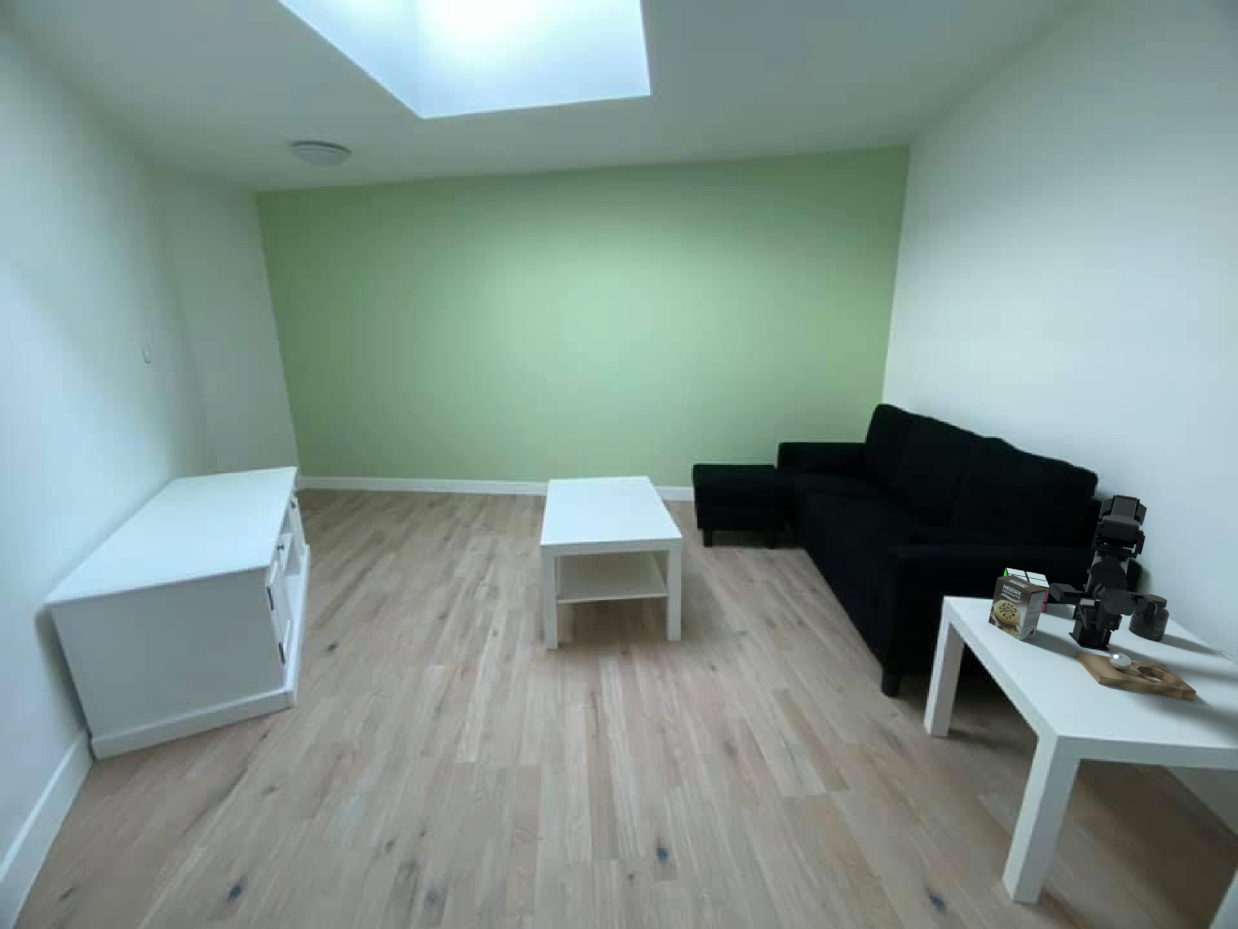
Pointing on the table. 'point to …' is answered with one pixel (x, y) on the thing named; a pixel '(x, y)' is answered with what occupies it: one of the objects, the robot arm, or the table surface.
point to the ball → (1120, 661)
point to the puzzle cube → (1032, 581)
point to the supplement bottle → (1151, 621)
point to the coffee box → (1016, 606)
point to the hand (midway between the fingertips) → (1092, 629)
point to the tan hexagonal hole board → (1137, 676)
